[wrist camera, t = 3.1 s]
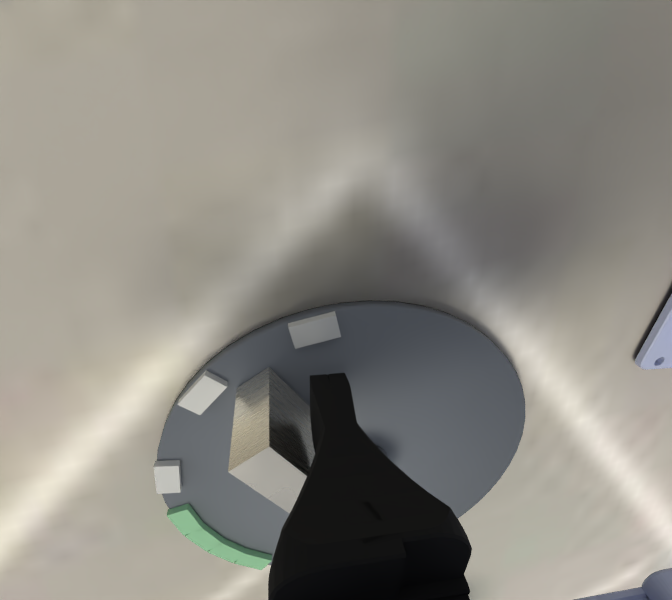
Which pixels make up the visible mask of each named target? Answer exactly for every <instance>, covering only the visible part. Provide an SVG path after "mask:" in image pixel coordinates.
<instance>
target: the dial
mask: <svg viewBox="0 0 672 600" xmlns="http://www.w3.org/2000/svg"><path fill="white" fill-rule="evenodd" d="M268 367H269V368H271V369H272V370H273V371H274V372H275V373H276V374H277V375H278V376H279V377H280V378H281V379H282V380H283V381H284V382H285V383H286V384H287V385H288V386H290V387H291V388H292V389H293V390H294V391H295V392H296V393H297V394H298V395H299V396H300V397H301V398H302V399H303V400H304V401H305V402H306V403H307V404H308V405H310V375H322V374H326V375H328V374H334V373H345V374H346V376H347V379H348V381H349V384H350V387H351V392H352V398H353V403H354V409H355V415H356V420H357V423H358V425H359V426H360V427H361V428H362V430H363V431H364V432H365V433H366V435H367V436H368V437H369V438H370V439H371V440H372V442H373V443H374V444H375V445H378V446H379V447H381V448H382V449H384V450H385V452H386V453H387V455H388V457H389V459H390V460H391V461H392V462H393V463H394V464H395V465H396V466H397V467H399V468H400V469H401V470H402V471H403V472H404V473H405V474H406V475H408V476H409V477H410V478H411V479H412V480H413V481H415V482H416V483H417V484H418V485H420V486H421V487H422V488H423V489H425V490H426V491H427V492H429V493H430V494H432V495H433V496H435V497H436V498H437V499H439V500H440V501H442V502H443V503H445V504H446V505H448V506H449V507H450V508H451V509H452V511H453V512H454V514H455V515H456V517H457V518H459V517H460V516H462V515H463V514H464V513H466V512H467V511H468V510H469V509H470V508H472V507H473V506H474V505H475V504H477V503H478V502H479V501H480V500H481V499H482V498H483V497H484V496H485V495H486V494H487V493H488V492H489V491H490V490H491V488H492V487H493V486H494V485H495V484H496V483H497V481H498V480H499V479H500V478H501V476H502V475H503V473H504V472H505V470H506V469H507V467H508V466H509V464H510V462H511V460H512V458H513V457H514V455H515V453H516V451H517V448H518V445H519V442H520V440H521V437H522V433H523V428H524V422H525V399H524V394H523V389H522V385H521V383H520V380H519V378H518V376H517V373H516V371H515V369H514V368H513V366H512V365H511V363H510V362H509V360H508V359H507V357H506V356H505V355H504V354H503V353H502V352H501V351H500V349H499V348H498V347H497V346H496V345H495V344H494V343H493V342H492V341H491V340H490V339H489V338H488V337H487V336H486V335H484V334H483V333H482V332H480V331H479V330H477V329H476V328H474V327H473V326H471V325H470V324H469V323H467V322H465V321H463V320H461V319H458V318H456V317H454V316H452V315H450V314H448V313H445V312H442V311H438V310H435V309H432V308H429V307H425V306H421V305H414V304H408V303H402V302H390V301H360V302H348V303H338V304H333V305H328V306H323V307H318V308H313V309H309V310H306V311H302V312H299V313H296V314H293V315H290V316H287V317H284V318H281V319H278V320H276V321H274V322H272V323H270V324H267V325H265V326H263V327H261V328H258V329H256V330H254V331H252V332H251V333H249V334H247V335H246V336H244V337H242V338H241V339H239V340H237V341H236V342H234V343H232V344H231V345H229V346H228V347H226V348H225V349H224V350H223V351H221V352H220V353H219V354H217V355H216V356H215V357H214V358H212V359H211V360H210V361H209V362H207V363H206V364H205V365H204V366H203V367H202V369H201V370H200V371H199V372H198V373H197V374H196V375H195V376H194V377H193V378H192V379H191V380H190V381H189V382H188V384H187V385H186V387H185V388H184V389H183V391H182V392H181V394H180V395H179V396H178V398H177V399H176V401H175V403H174V405H173V407H172V409H171V411H170V413H169V415H168V418H167V420H166V423H165V426H164V429H163V433H162V436H161V440H160V444H159V447H158V454H157V461H155V464H154V475H155V483H156V492H157V494H162V495H163V498H164V500H165V503H166V504H167V506H168V507H169V509H168V512H167V517H168V518H169V519H170V520H171V521H172V523H173V524H174V525H175V526H176V527H177V528H178V530H179V531H180V532H181V533H182V534H183V535H185V537H186V538H188V539H189V540H191V541H192V542H194V543H195V544H196V545H198V546H199V547H201V548H202V549H204V550H205V551H207V552H208V553H210V554H213V555H215V556H217V557H220V558H222V559H224V560H227V561H229V562H231V563H233V562H234V564H238V565H243V566H247V567H251V568H255V569H259V570H262V569H263V568H265V567H266V566H267V565H271V564H272V560H273V556H274V553H275V550H276V546H277V543H278V540H279V537H280V533H281V529H282V527H283V525H284V523H285V522H286V520H287V518H288V516H289V513H288V512H286V511H285V510H284V509H282V508H281V507H279V506H278V505H276V504H275V503H273V502H272V501H270V500H269V499H267V498H266V497H264V496H263V495H261V494H260V493H258V492H257V491H255V490H254V489H252V488H251V487H249V486H248V485H247V484H245V483H244V482H242V481H241V480H239V479H238V478H236V477H235V476H233V475H232V474H230V473H229V472H228V468H229V458H230V448H231V439H232V429H233V420H234V410H235V400H236V391H237V387H239V386H240V385H242V384H244V383H245V382H247V381H248V380H250V379H251V378H253V377H254V376H256V375H257V374H259V373H260V372H262V371H263V370H265V369H266V368H268Z"/></svg>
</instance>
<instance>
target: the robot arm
mask: <svg viewBox="0 0 672 600" xmlns="http://www.w3.org/2000/svg"><path fill="white" fill-rule="evenodd" d="M635 364H636V365H638V366H639V367H640V368H642V369H660V368H672V294H671V296H670V297H669V299H668V301H667V303H666V305H665V306H664V308H663V310H662V312H661V314H660V315H659V317H658V319H657V321H656V323H655V324H654V326H653V328H652V330H651V332H650V333H649V335H648V337H647V339H646V341H645V342H644V344H643V346H642V348H641V350H640V352H639V353H638V355H637V357H636V359H635ZM310 420H311V430H312V440H313V446H314V451H315V455H314V458H313V461H312V464H311V467H310V470H309V472H308V475H307V477H306V480H305V482H304V484H303V487H302V489H301V491H300V493H299V496H298V498H297V500H296V502H295V504H294V506H293V508H292V510H291V512H290V514H289V516H288V518H287V520H286V522H285V523H284V525H283V527H282V529H281V533H280V537H279V540H278V543H277V546H276V550H275V553H274V556H273V560H272V564H271V568H270V574H269V583H268V600H470V599H469V596H468V594H469V593H470V589H469V586H468V584H467V581H466V579H465V576H464V572H465V570H466V567H467V564H468V561H469V559H470V556H471V550H472V548H471V545H470V542H469V540H468V537H467V535H466V533H465V531H464V529H463V527H462V526H461V524H460V522H459V520H458V519H457V517H456V515H455V514H454V512H453V511H452V509H451V508H450V507H449V506H448V505H446V504H445V503H443V502H442V501H440V500H439V499H437V498H436V497H435V496H433V495H432V494H430V493H429V492H427V491H426V490H425V489H423V488H422V487H421V486H420V485H418V484H417V483H416V482H415V481H413V480H412V479H411V478H410V477H409V476H408V475H406V474H405V473H404V472H403V471H402V470H401V469H400V468H399V467H397V466H396V465H395V464H394V463H393V462H392V461H391V460H390V459H389V458H388V457H387V456H386V455H385V454H384V453H383V452H382V451H381V450H380V449H379V448H378V447H377V446H376V445H375V444H374V443H373V442H372V440H371V439H370V438H369V437H368V436H367V435H366V433H365V432H364V431H363V430H362V428H361V427H360V426H359V425H358V423H357V420H356V415H355V409H354V403H353V398H352V392H351V387H350V384H349V381H348V379H347V376H346V374H345V373H334V374H328V375H326V374H322V375H310ZM574 600H672V568H670V569H664V570H660V571H656V572H654V573H652V574H651V575H649V576H648V577H647V578H646V579H645V580H644V582H643V584H642V587H639V588H633V589H628V590H623V591H617V592H612V593H606V594H601V595H596V596H590V597H585V598H580V599H574Z"/></svg>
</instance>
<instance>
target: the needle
mask: <svg viewBox="0 0 672 600" xmlns="http://www.w3.org/2000/svg"><path fill="white" fill-rule="evenodd" d="M376 446H377V447H378V448H379V449H380V450H381V451H382V452H383V453H384V454H385V455H386V456H387V457H388V455H387V453H386V452H385V450H384V449H382V448H381V447H379V446H378V445H376ZM314 455H315V451H314V446H313V440H312V430H311V420H310V405H308V404H307V403H306V402H305V401H304V400H303V399H302V398H301V397H300V396H299V395H298V394H297V393H296V392H295V391H294V390H293V389H292V388H291V387H290V386H288V385H287V384H286V383H285V382H284V381H283V380H282V379H281V378H280V377H279V376H278V375H277V374H276V373H275V372H274V371H273V370H272V369H271V368H269V367H268V368H266V369H265V370H263V371H262V372H260V373H259V374H257V375H256V376H254V377H253V378H251V379H250V380H248V381H247V382H245V383H244V384H242V385H240V386H239V387H237V391H236V400H235V410H234V420H233V429H232V439H231V448H230V458H229V468H228V472H229V473H230V474H232V475H233V476H235V477H236V478H238V479H239V480H241V481H242V482H244V483H245V484H247V485H248V486H249V487H251V488H252V489H254V490H255V491H257V492H258V493H260V494H261V495H263V496H264V497H266V498H267V499H269V500H270V501H272V502H273V503H275V504H276V505H278V506H279V507H281V508H282V509H284V510H285V511H286V512H288V513H289V514H290V512H291V510H292V508H293V506H294V504H295V502H296V500H297V498H298V496H299V493H300V491H301V489H302V487H303V484H304V482H305V480H306V477H307V475H308V472H309V470H310V467H311V464H312V461H313V458H314ZM388 458H389V457H388Z"/></svg>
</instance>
